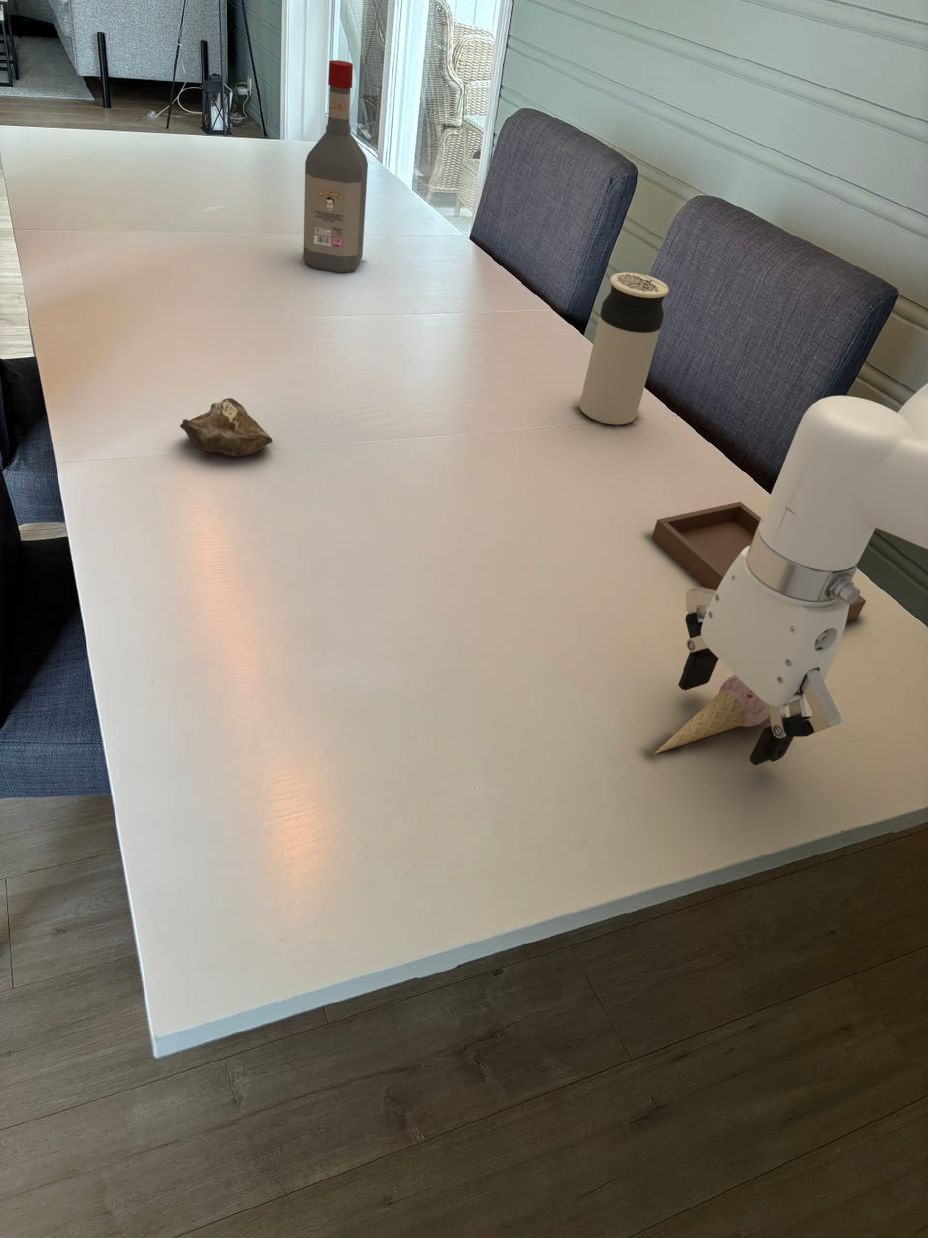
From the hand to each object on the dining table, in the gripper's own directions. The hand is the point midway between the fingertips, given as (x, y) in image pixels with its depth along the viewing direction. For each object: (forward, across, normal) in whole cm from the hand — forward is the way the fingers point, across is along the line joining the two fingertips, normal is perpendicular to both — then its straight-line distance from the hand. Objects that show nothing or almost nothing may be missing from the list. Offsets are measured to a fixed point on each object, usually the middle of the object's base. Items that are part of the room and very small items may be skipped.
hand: (727, 720), depth 79 cm
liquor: (+2, +114, -10) cm, 114 cm away
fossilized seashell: (+2, +58, +26) cm, 64 cm away
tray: (+1, +17, -19) cm, 26 cm away
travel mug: (+2, +54, -26) cm, 60 cm away
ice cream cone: (+2, 0, 0) cm, 2 cm away
